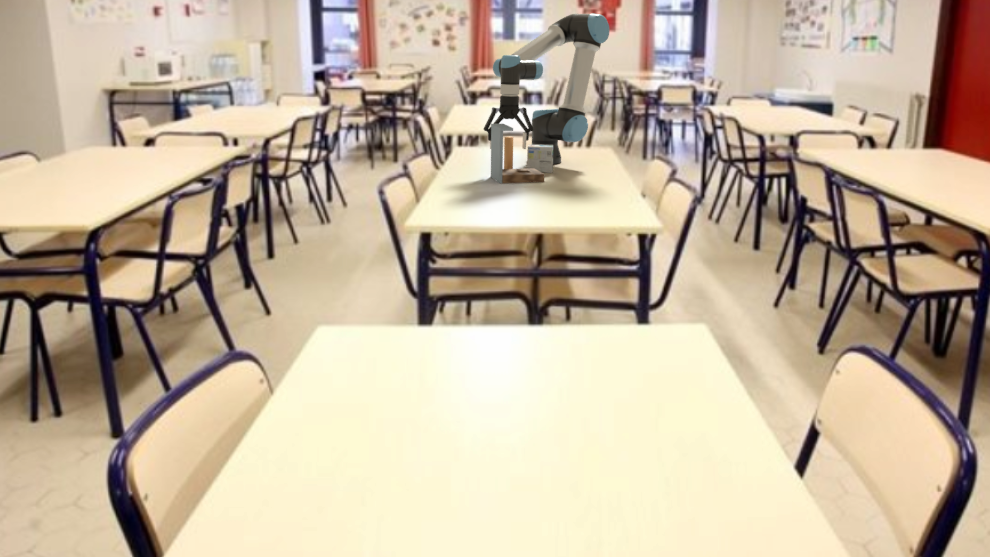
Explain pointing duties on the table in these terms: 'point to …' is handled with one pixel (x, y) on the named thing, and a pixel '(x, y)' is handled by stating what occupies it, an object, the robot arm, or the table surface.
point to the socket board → (522, 175)
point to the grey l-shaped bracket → (497, 150)
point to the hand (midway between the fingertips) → (508, 148)
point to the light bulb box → (540, 157)
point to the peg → (508, 152)
